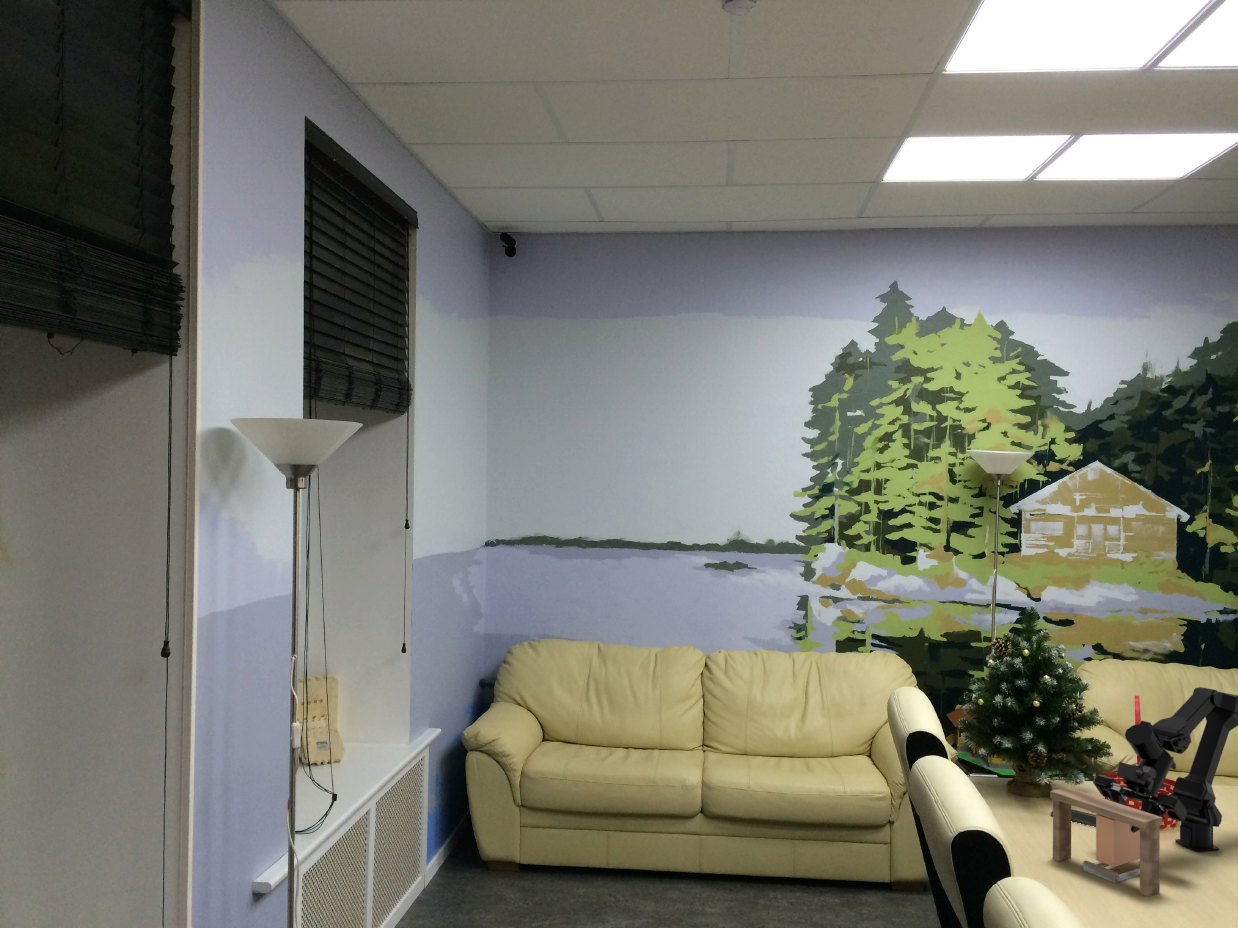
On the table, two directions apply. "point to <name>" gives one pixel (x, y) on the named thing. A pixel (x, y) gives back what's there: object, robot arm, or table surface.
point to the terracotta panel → (1116, 841)
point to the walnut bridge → (1115, 811)
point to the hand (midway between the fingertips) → (1122, 827)
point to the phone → (1082, 817)
